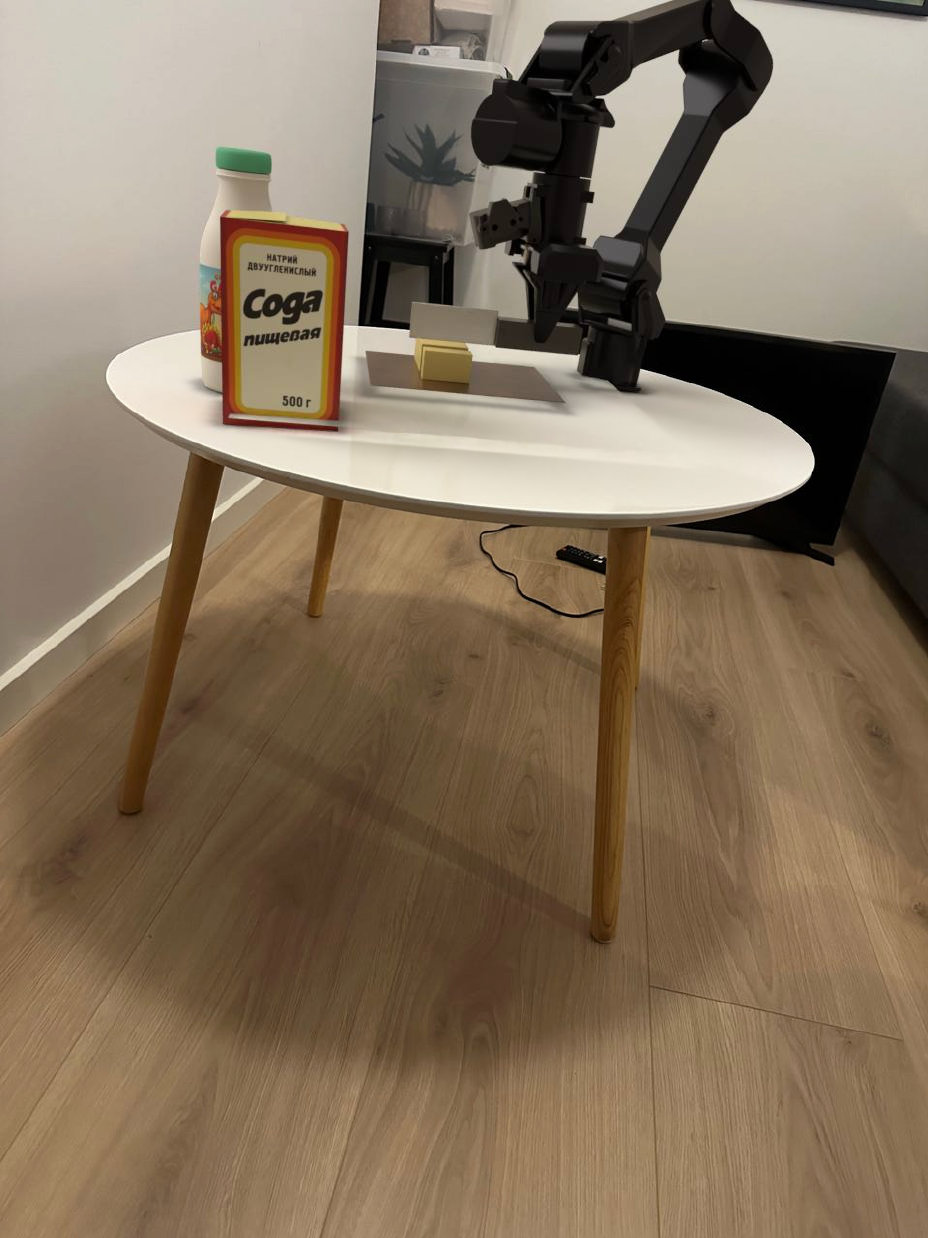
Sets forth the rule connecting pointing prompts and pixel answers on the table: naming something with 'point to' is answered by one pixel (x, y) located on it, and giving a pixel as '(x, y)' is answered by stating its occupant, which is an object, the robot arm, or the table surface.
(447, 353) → the butter slice
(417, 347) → the butter
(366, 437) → the table surface
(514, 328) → the knife
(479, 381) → the board
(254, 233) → the baking soda box
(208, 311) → the milk bottle
